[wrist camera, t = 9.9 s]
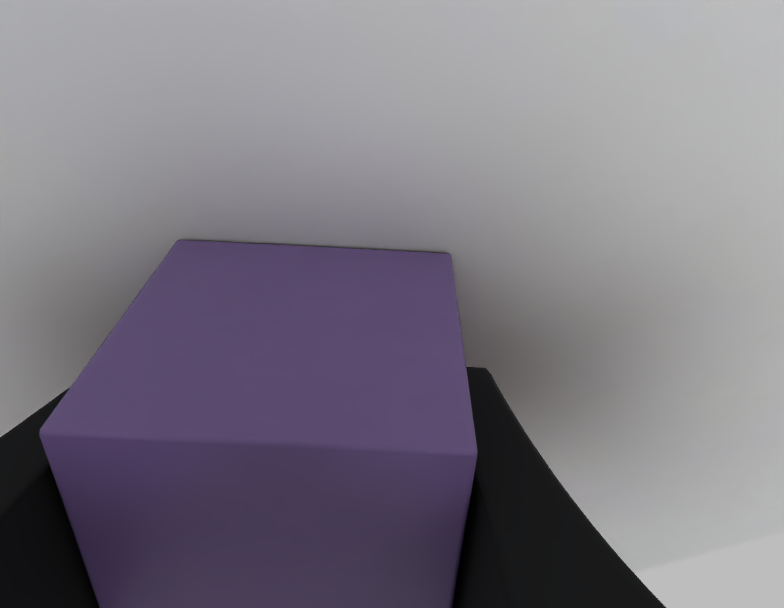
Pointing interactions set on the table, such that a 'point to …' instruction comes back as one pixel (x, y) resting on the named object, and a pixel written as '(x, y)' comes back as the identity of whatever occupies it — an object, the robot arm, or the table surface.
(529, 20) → the table surface
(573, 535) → the robot arm
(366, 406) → the block
